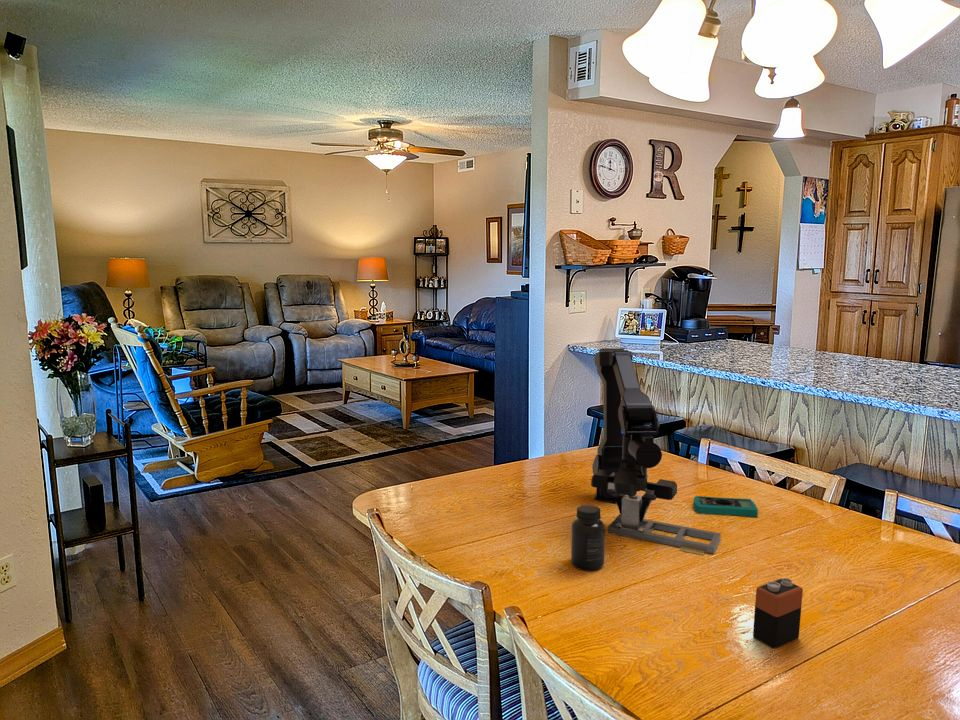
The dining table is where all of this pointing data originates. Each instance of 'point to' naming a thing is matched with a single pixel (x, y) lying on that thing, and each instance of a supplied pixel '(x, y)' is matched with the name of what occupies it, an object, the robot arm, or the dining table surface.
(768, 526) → the dining table surface
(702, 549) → the rail frame
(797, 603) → the battery
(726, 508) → the digital multimeter
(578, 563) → the supplement bottle
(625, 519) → the grey tall square block
